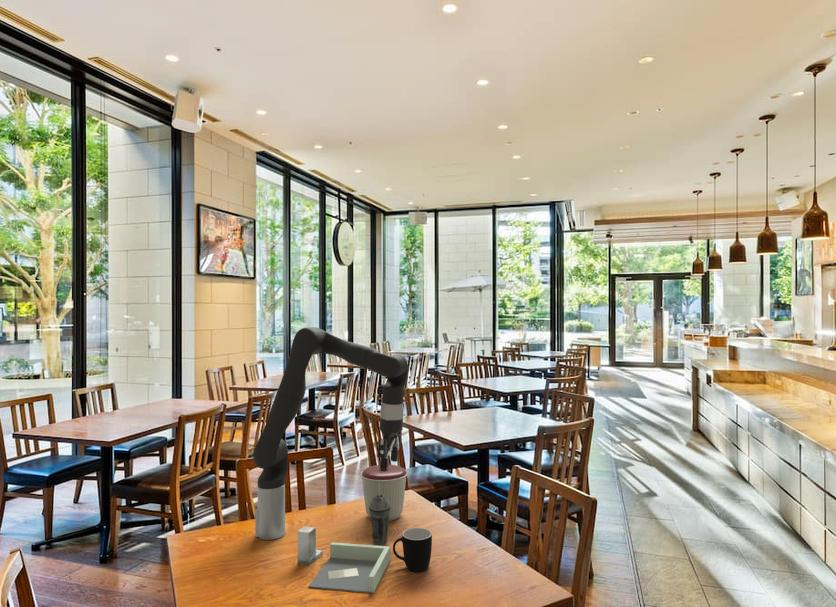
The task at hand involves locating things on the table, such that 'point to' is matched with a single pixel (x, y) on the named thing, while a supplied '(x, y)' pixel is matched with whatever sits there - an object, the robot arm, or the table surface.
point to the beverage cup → (379, 518)
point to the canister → (385, 487)
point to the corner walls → (364, 558)
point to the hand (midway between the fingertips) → (388, 465)
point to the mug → (416, 548)
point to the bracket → (307, 546)
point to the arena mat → (345, 575)
